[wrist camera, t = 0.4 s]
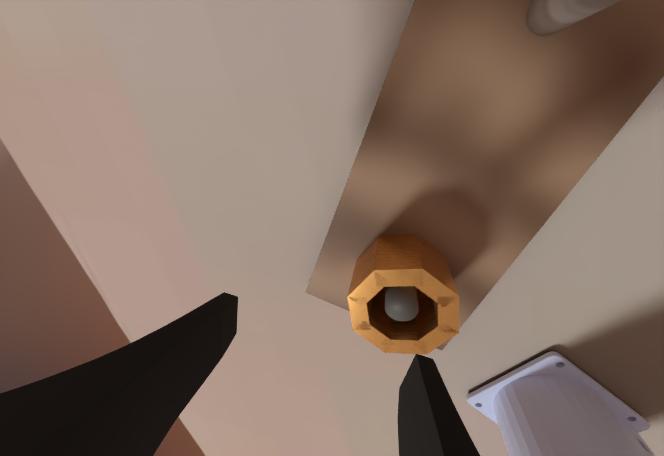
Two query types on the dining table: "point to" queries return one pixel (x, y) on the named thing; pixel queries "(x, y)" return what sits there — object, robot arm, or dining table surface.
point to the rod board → (488, 132)
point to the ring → (404, 270)
